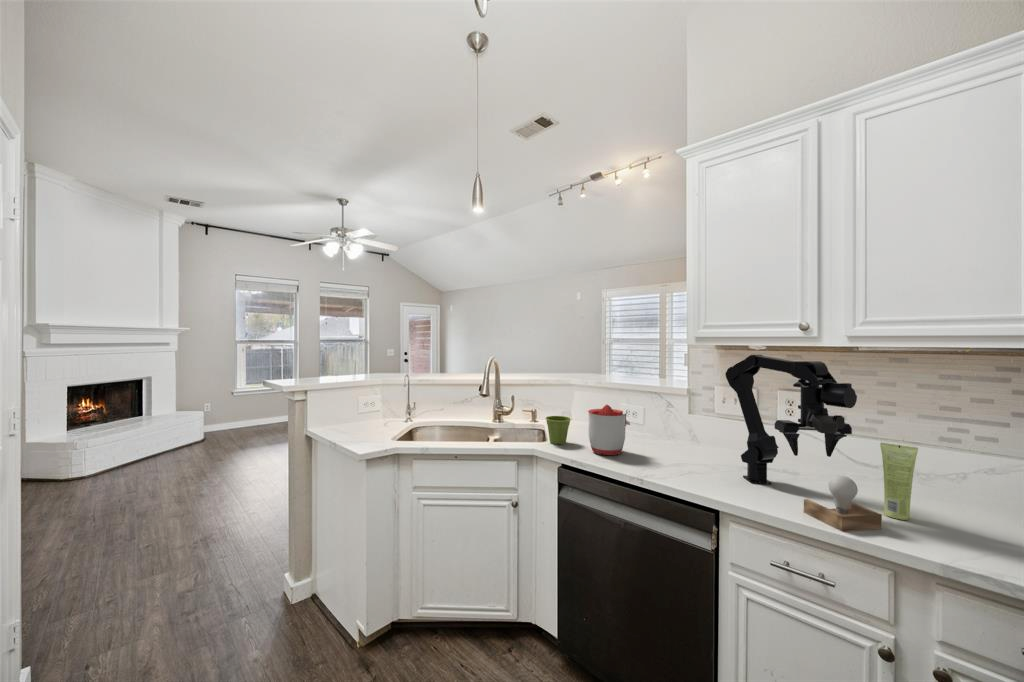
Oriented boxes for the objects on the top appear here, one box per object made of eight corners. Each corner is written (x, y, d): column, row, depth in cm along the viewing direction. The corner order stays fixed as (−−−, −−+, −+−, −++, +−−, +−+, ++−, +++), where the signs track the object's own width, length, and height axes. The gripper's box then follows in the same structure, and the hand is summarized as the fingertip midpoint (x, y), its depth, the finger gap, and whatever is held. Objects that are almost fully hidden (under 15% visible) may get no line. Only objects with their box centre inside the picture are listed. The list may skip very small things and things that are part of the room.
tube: (898, 512, 116) (899, 442, 115) (917, 520, 110) (918, 446, 110) (879, 512, 115) (880, 442, 115) (897, 521, 110) (898, 447, 110)
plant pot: (542, 444, 186) (542, 419, 186) (547, 438, 197) (548, 415, 197) (568, 447, 182) (569, 421, 182) (572, 440, 194) (573, 416, 193)
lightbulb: (836, 521, 108) (837, 478, 108) (822, 512, 114) (823, 471, 114) (863, 523, 107) (863, 480, 107) (847, 513, 113) (848, 473, 113)
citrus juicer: (634, 457, 167) (635, 407, 167) (590, 457, 167) (591, 407, 167) (624, 447, 182) (625, 401, 182) (584, 447, 183) (585, 401, 183)
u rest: (803, 512, 115) (803, 499, 115) (840, 510, 117) (840, 497, 117) (841, 531, 104) (841, 516, 104) (881, 528, 105) (881, 514, 105)
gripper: (794, 406, 117) (794, 462, 117) (866, 408, 115) (866, 464, 115) (773, 401, 128) (773, 452, 128) (838, 402, 126) (838, 454, 126)
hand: (812, 456), depth 124 cm, fingers open, 9 cm apart
